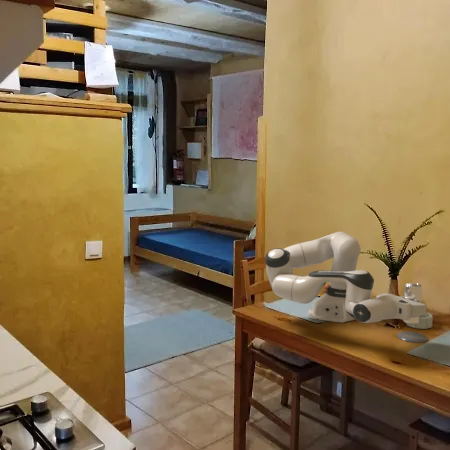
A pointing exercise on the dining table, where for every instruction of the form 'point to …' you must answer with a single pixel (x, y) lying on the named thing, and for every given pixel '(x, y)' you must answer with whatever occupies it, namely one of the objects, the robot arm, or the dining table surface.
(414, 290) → the beer glass
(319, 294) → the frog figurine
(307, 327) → the dining table surface
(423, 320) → the bowl
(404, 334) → the coaster
